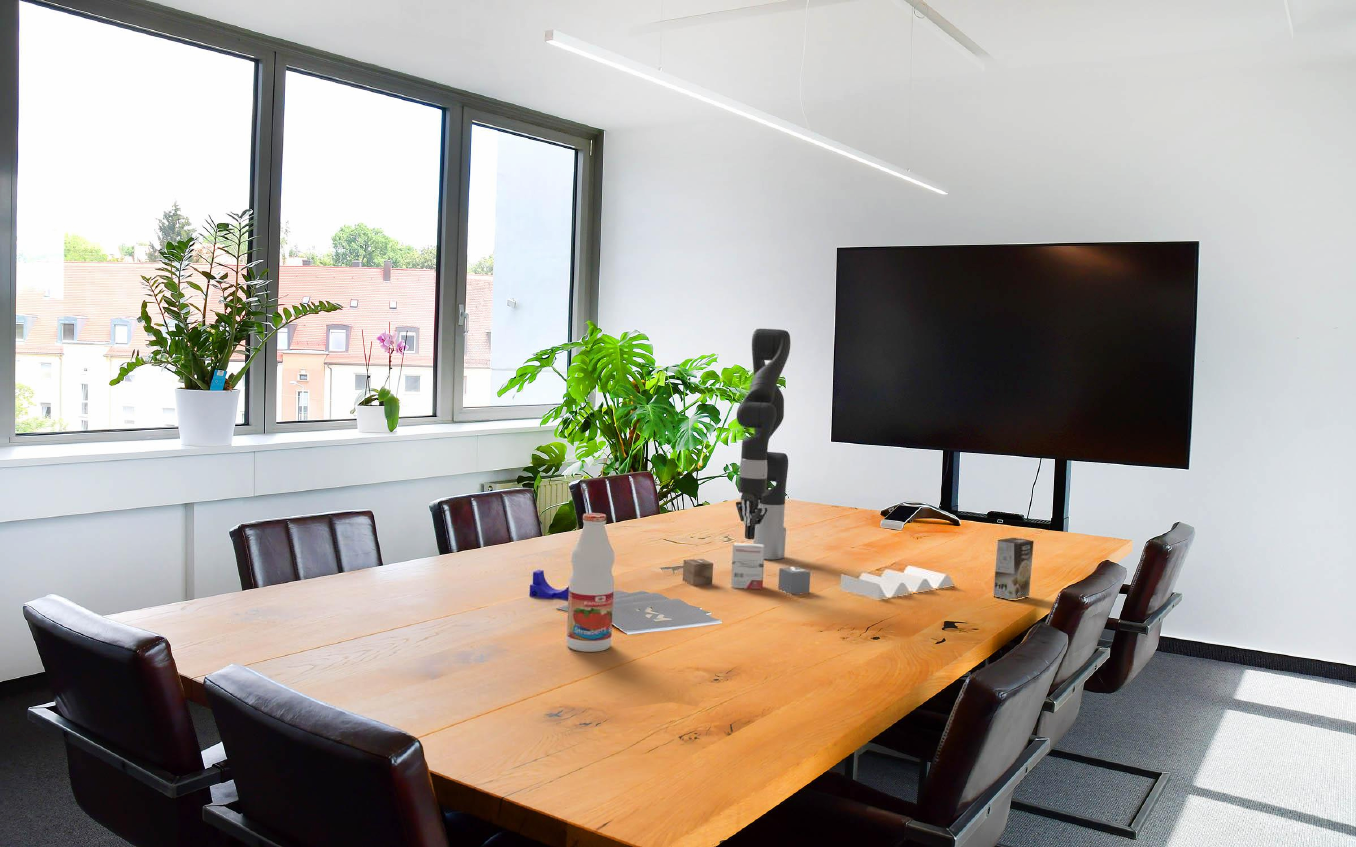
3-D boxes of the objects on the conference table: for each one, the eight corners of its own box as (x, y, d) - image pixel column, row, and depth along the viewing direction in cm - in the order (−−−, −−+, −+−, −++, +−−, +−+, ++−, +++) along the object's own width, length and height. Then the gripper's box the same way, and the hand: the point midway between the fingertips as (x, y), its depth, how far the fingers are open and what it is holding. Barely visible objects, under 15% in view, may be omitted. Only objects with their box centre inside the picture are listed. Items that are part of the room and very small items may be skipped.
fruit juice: (602, 638, 214) (608, 510, 212) (617, 651, 206) (623, 518, 204) (560, 641, 210) (566, 511, 209) (574, 654, 202) (580, 518, 200)
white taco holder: (955, 588, 284) (956, 570, 284) (877, 603, 262) (879, 584, 261) (917, 578, 294) (918, 561, 294) (840, 592, 272) (841, 574, 271)
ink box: (762, 586, 272) (765, 543, 271) (762, 590, 267) (764, 547, 266) (731, 583, 273) (733, 541, 272) (730, 587, 268) (732, 544, 267)
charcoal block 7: (796, 588, 271) (797, 565, 271) (809, 593, 266) (810, 570, 266) (778, 589, 269) (779, 566, 268) (790, 595, 263) (792, 571, 263)
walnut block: (701, 579, 276) (702, 557, 275) (712, 584, 270) (713, 562, 270) (682, 581, 273) (683, 558, 272) (692, 586, 268) (694, 563, 267)
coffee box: (1014, 602, 268) (1018, 543, 267) (992, 597, 273) (996, 539, 272) (1029, 597, 275) (1034, 540, 274) (1008, 592, 279) (1012, 536, 278)
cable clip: (529, 596, 248) (530, 573, 247) (537, 592, 252) (538, 569, 251) (573, 602, 244) (574, 578, 244) (580, 598, 248) (581, 575, 248)
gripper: (778, 478, 264) (774, 542, 265) (751, 472, 275) (748, 534, 276) (754, 478, 260) (750, 544, 261) (728, 472, 272) (725, 535, 273)
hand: (749, 538), depth 269 cm, fingers closed
